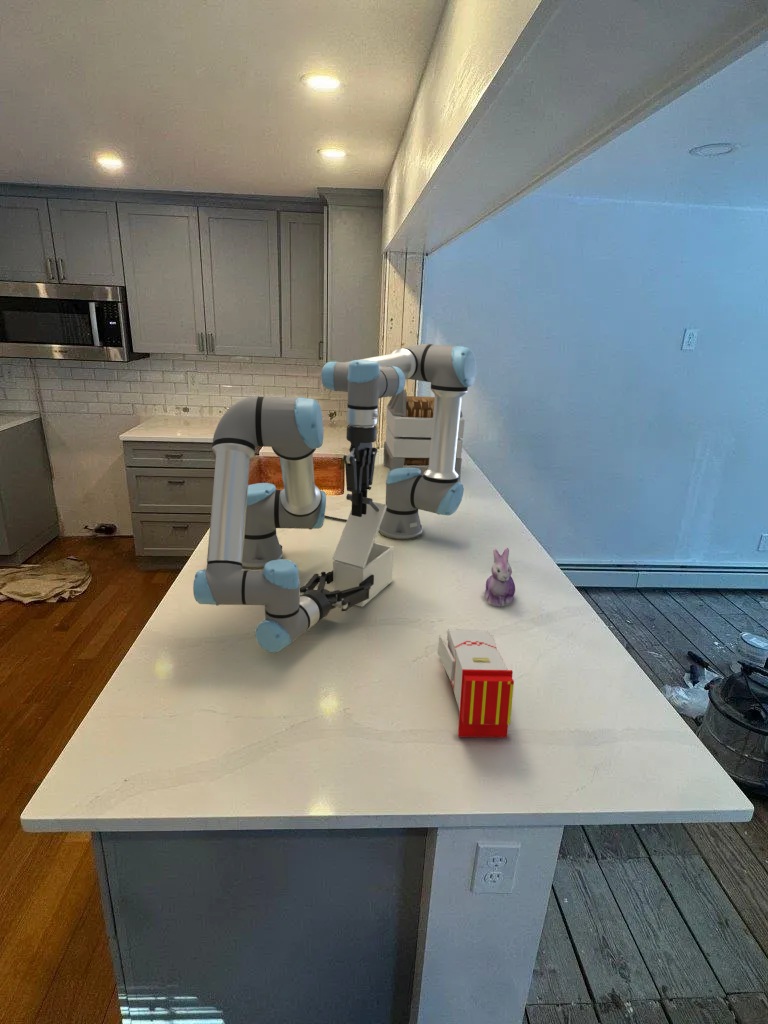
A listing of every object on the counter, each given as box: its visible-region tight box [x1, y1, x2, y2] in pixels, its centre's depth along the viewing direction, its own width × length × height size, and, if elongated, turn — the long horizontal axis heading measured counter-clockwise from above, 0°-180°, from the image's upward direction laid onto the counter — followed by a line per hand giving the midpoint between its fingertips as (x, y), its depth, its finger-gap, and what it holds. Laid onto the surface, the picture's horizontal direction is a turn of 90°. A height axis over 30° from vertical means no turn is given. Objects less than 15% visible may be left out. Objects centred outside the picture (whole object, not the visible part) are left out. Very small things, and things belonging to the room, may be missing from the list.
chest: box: [332, 541, 395, 608], centre depth 157 cm, size 17×9×11 cm, turn 152°
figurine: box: [484, 547, 516, 607], centre depth 155 cm, size 9×10×15 cm
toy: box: [437, 628, 515, 738], centre depth 117 cm, size 12×13×30 cm
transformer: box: [383, 388, 465, 483], centre depth 268 cm, size 34×33×41 cm
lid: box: [332, 493, 387, 568], centre depth 148 cm, size 18×9×8 cm
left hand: (356, 574), depth 154 cm, fingers closed on chest, 9 cm apart
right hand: (358, 514), depth 148 cm, fingers closed on lid, 2 cm apart
